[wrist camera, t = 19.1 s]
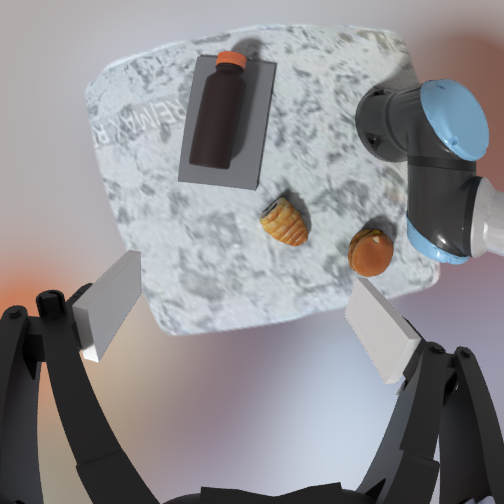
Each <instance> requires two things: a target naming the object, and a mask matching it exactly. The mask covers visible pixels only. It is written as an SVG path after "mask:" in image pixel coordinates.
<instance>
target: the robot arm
mask: <svg viewBox="0 0 504 504" xmlns="http://www.w3.org/2000/svg"><path fill="white" fill-rule="evenodd" d="M355 121H356V128H357V132H358V135H359V137H360V140H361V141H362V143H363V145H364V146H365V147H366V149H367V150H368V151H369V152H370V153H371V154H372V155H374V156H375V157H377V158H378V159H380V160H383V161H386V162H404V161H407V160H408V164H407V165H408V204H407V211H406V218H407V237H408V239H409V241H410V243H411V245H412V246H413V247H414V248H415V249H416V250H417V251H419V252H420V253H422V254H423V255H425V256H427V257H429V258H431V259H433V260H436V261H439V262H443V263H446V262H449V263H451V264H462V263H464V262H466V261H467V260H468V258H469V257H473V258H478V257H479V256H480V255H482V254H483V253H485V252H488V251H489V252H492V253H495V254H498V255H501V256H504V192H499V191H497V190H495V189H494V187H493V186H492V185H491V183H490V182H489V180H488V179H487V178H485V177H479V176H477V175H476V160H478V159H479V158H481V157H482V156H483V155H484V154H485V152H486V147H488V143H489V130H488V125H487V120H486V117H485V114H484V112H483V110H482V108H481V106H480V104H479V102H478V101H477V100H476V99H475V97H474V96H473V94H472V93H471V92H470V91H469V90H468V89H467V88H466V87H464V86H463V85H462V84H460V83H459V82H456V81H454V80H450V79H441V80H430V81H427V82H425V83H423V84H420V85H417V86H414V87H411V88H408V89H405V90H402V91H399V90H394V89H388V88H382V89H377V90H375V91H372V92H370V93H368V94H367V95H365V96H364V97H363V98H362V99H361V101H360V102H359V104H358V107H357V110H356V117H355ZM141 293H142V289H141V252H140V251H133V250H129V251H128V252H127V253H125V254H124V255H123V256H122V257H121V258H120V259H119V260H118V261H117V262H116V263H115V264H114V265H113V266H111V268H109V269H108V270H107V271H106V272H105V273H104V274H103V275H102V276H101V277H100V278H99V279H98V280H97V281H96V282H95V283H94V284H93V283H88V284H86V285H84V286H82V287H81V288H80V289H78V290H77V292H76V293H74V294H73V295H72V297H70V298H69V299H68V300H67V301H66V302H65V299H64V295H63V293H62V292H60V291H58V290H48V291H44V292H42V293H40V294H39V295H38V296H37V297H36V303H37V307H38V312H39V316H40V317H34V316H28V313H27V309H26V308H25V307H23V306H19V305H17V306H12V307H9V308H8V309H7V310H5V312H4V313H3V315H2V318H1V320H0V504H44V503H43V494H42V488H41V481H40V472H39V463H38V446H37V409H38V408H37V407H38V392H39V380H40V372H41V364H42V362H46V363H47V368H48V373H49V378H50V382H51V387H52V390H53V395H54V398H55V402H56V405H57V409H58V412H59V416H60V419H61V422H62V425H63V428H64V431H65V434H66V436H67V439H68V442H69V445H70V447H71V449H72V452H73V455H74V457H75V459H76V462H77V465H76V469H77V472H78V475H79V477H80V479H81V481H82V483H83V485H84V487H85V489H86V491H87V493H88V495H89V497H90V499H91V501H92V502H93V504H160V503H159V502H158V500H157V499H156V498H155V497H154V495H153V494H152V493H151V491H150V490H149V488H148V487H147V486H146V484H145V483H144V481H143V480H142V479H141V477H140V475H139V474H138V472H137V471H136V469H135V468H134V466H133V465H132V463H131V462H130V460H129V458H128V457H127V455H126V453H125V452H124V451H123V450H122V448H121V446H120V444H119V443H118V441H117V439H116V437H115V436H114V433H113V431H112V430H111V428H110V426H109V424H108V422H107V420H106V418H105V416H104V413H103V412H102V409H101V407H100V405H99V403H98V400H97V399H96V396H95V394H94V391H93V389H92V386H91V384H90V381H89V379H88V376H87V374H86V371H85V368H84V366H83V363H82V360H81V357H80V354H79V351H80V350H81V349H82V351H83V355H84V358H85V359H88V360H92V361H95V362H99V361H100V360H101V358H102V356H103V354H104V353H105V351H106V349H107V348H108V346H109V344H110V343H111V341H112V339H113V337H114V336H115V334H116V333H117V331H118V329H119V328H120V326H121V325H122V323H123V321H124V320H125V318H126V317H127V315H128V313H129V312H130V310H131V309H132V307H133V306H134V304H135V302H136V301H137V299H138V298H139V296H140V295H141ZM345 316H346V318H347V320H348V321H349V323H350V325H351V326H352V328H353V330H354V331H355V333H356V335H357V336H358V338H359V340H360V341H361V343H362V345H363V346H364V348H365V350H366V352H367V353H368V355H369V356H370V358H371V360H372V362H373V363H374V365H375V367H376V369H377V370H378V372H379V374H380V376H381V378H382V379H383V381H384V383H385V384H392V383H397V382H398V381H399V379H400V377H401V375H402V374H403V375H404V376H405V378H406V379H405V381H404V382H403V384H402V386H401V387H400V389H399V390H398V392H397V394H396V395H398V394H399V397H398V399H397V402H396V405H395V408H394V411H393V414H392V417H391V419H390V422H389V424H388V427H387V429H386V432H385V435H384V437H383V439H382V442H381V444H380V446H379V448H378V451H377V453H376V455H375V457H374V459H373V461H372V463H371V465H370V467H369V469H368V471H367V474H366V475H365V477H364V479H363V481H362V483H361V484H360V486H359V487H358V488H357V490H356V491H352V490H346V489H342V487H341V483H340V482H338V483H331V484H325V485H318V486H310V487H307V488H304V489H301V490H297V491H294V492H291V493H287V494H284V495H280V496H275V497H273V496H267V495H261V494H256V493H251V492H247V491H242V490H238V489H221V488H210V487H201V493H198V494H189V495H184V496H181V497H177V498H174V499H172V500H169V501H167V502H165V503H163V504H430V501H431V498H432V495H433V491H434V488H435V484H436V480H437V477H438V473H439V469H440V497H439V504H504V442H503V438H502V434H501V430H500V426H499V423H498V419H497V415H496V412H495V409H494V406H493V402H492V399H491V396H490V393H489V391H488V388H487V385H486V382H485V380H484V377H483V375H482V372H481V370H480V367H479V365H478V362H477V360H476V357H475V355H474V354H473V353H472V352H471V350H470V349H468V348H467V347H461V346H459V347H457V349H456V350H455V352H454V354H448V353H446V351H445V349H444V348H443V347H442V346H441V345H439V344H437V343H435V342H426V340H425V339H424V338H423V337H422V336H421V335H420V333H419V332H418V331H416V329H415V328H414V327H413V326H412V324H411V323H410V322H409V321H408V320H407V319H405V318H404V317H402V316H401V315H400V314H399V313H398V311H397V310H396V309H395V308H394V307H393V306H392V305H391V304H390V303H389V302H388V301H387V299H386V298H385V297H384V296H383V295H382V294H381V293H380V292H379V291H378V290H377V289H376V288H375V287H374V286H373V284H372V283H371V282H370V281H369V280H368V279H367V278H359V277H356V280H355V284H354V287H353V290H352V293H351V296H350V300H349V303H348V306H347V309H346V312H345ZM457 386H458V388H457ZM456 388H457V390H456ZM438 434H439V448H440V464H439V462H438V461H435V460H433V457H434V453H435V448H436V443H437V439H438Z"/></svg>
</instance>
